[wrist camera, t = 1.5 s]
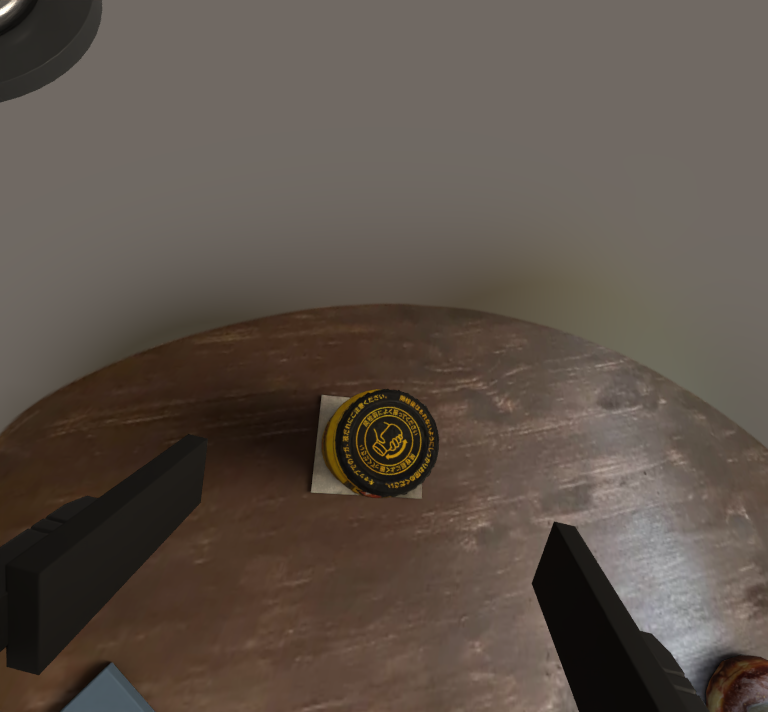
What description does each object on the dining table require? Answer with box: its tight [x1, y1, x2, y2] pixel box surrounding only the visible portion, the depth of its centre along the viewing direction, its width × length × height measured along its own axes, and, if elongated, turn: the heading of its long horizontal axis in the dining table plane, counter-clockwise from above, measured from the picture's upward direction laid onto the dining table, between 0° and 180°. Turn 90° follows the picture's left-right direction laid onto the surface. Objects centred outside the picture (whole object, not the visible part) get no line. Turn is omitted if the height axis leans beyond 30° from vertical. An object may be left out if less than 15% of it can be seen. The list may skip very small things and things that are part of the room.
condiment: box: [311, 389, 439, 499], centre depth 25 cm, size 7×8×12 cm
